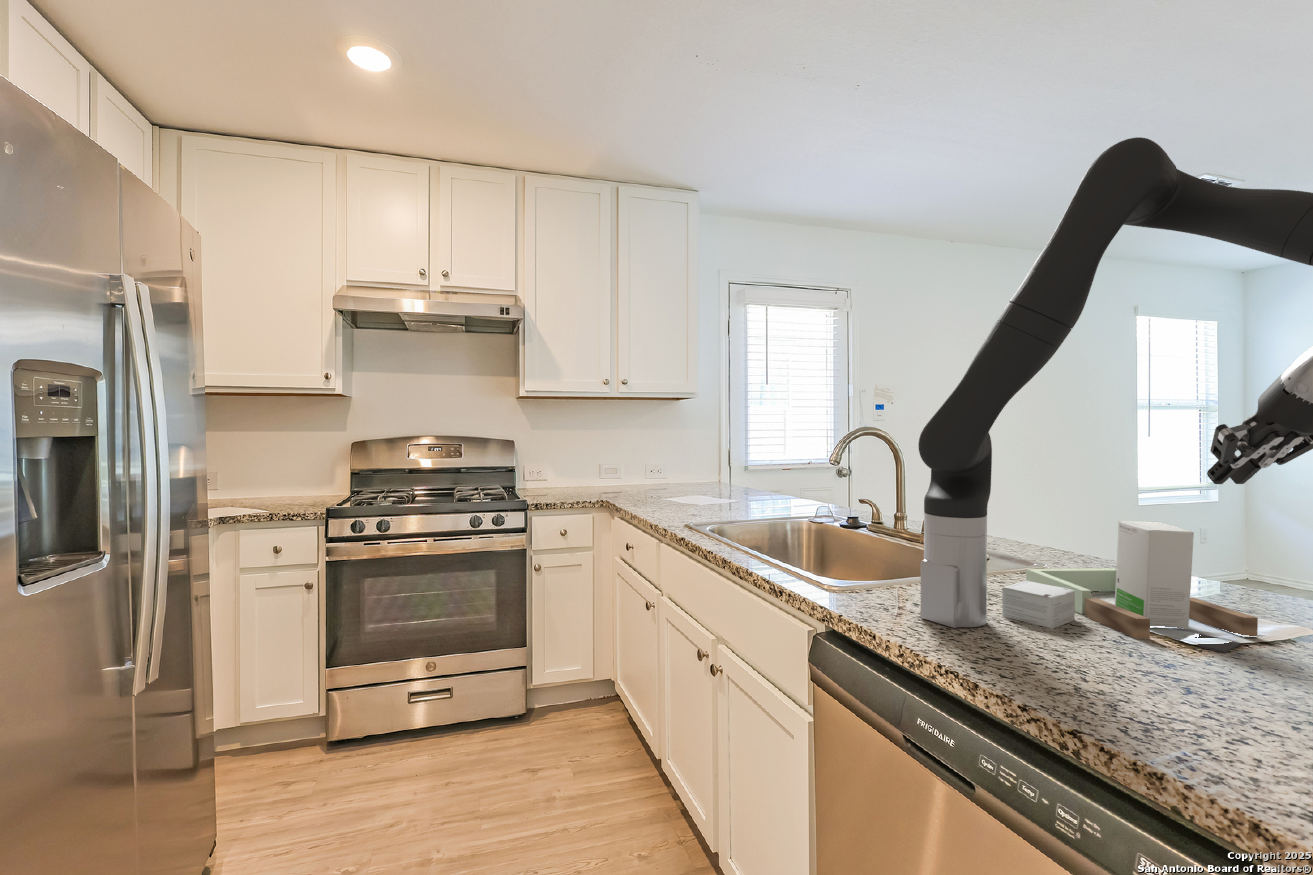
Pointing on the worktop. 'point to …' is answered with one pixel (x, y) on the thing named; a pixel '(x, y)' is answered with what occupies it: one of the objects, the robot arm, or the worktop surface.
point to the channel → (1198, 611)
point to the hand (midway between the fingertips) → (1223, 479)
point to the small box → (1039, 604)
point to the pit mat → (1218, 645)
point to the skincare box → (1154, 571)
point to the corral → (1076, 581)
